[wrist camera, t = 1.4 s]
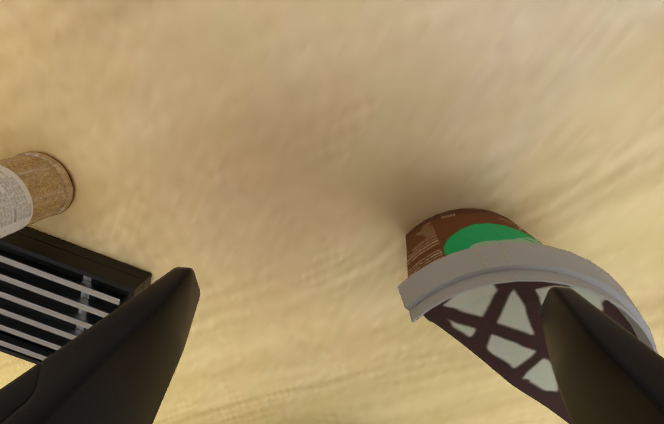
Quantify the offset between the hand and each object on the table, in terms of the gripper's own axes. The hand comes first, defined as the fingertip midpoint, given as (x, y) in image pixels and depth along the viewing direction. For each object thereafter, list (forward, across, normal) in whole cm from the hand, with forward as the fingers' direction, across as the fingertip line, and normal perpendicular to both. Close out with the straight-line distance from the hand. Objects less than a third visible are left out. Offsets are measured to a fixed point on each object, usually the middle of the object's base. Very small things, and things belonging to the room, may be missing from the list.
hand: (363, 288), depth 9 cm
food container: (+13, -8, +8) cm, 17 cm away
